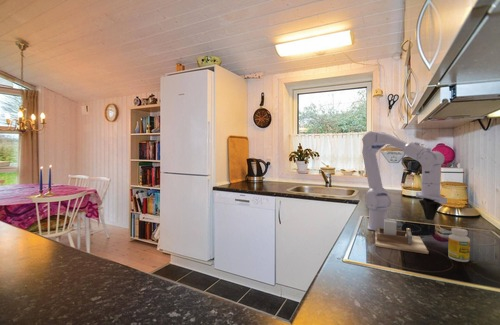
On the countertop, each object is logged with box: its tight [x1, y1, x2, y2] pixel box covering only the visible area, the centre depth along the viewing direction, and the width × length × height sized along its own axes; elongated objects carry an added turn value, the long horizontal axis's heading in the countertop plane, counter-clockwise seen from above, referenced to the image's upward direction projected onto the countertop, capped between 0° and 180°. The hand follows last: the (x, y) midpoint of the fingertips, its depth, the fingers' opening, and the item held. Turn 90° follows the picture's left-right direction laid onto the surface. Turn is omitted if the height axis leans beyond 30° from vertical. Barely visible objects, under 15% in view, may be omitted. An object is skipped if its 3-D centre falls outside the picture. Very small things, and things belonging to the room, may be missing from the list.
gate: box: [405, 227, 413, 245], centre depth 95 cm, size 10×1×3 cm, turn 151°
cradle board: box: [374, 228, 429, 255], centre depth 96 cm, size 18×16×3 cm
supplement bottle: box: [447, 227, 471, 263], centre depth 81 cm, size 5×5×10 cm
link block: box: [384, 218, 398, 235], centre depth 97 cm, size 4×4×7 cm
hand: (429, 219), depth 94 cm, fingers closed
